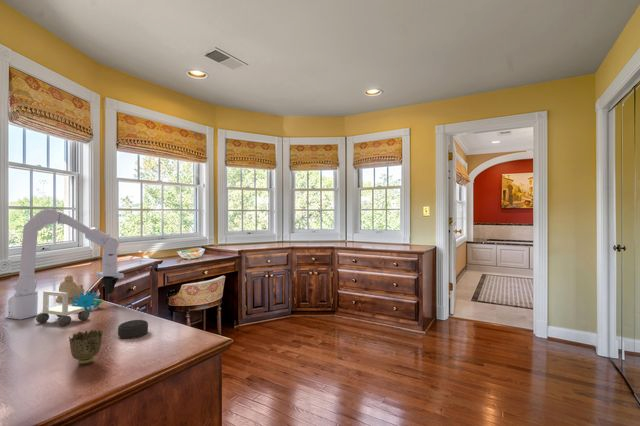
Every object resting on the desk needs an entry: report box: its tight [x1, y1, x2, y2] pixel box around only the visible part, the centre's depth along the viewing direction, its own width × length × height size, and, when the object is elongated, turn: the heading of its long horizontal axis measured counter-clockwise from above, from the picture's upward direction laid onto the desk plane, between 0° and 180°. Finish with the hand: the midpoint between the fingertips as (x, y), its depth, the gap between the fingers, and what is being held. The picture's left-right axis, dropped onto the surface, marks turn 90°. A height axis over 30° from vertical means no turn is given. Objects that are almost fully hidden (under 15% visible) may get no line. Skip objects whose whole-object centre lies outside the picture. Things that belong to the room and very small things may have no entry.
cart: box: [35, 290, 91, 327], centre depth 124 cm, size 13×11×12 cm
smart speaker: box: [117, 319, 149, 340], centre depth 110 cm, size 9×9×4 cm
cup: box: [68, 329, 104, 366], centre depth 89 cm, size 8×7×8 cm
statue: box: [55, 274, 85, 303], centre depth 155 cm, size 12×14×10 cm
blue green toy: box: [70, 290, 104, 312], centre depth 140 cm, size 11×6×10 cm
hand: (109, 293), depth 149 cm, fingers closed
